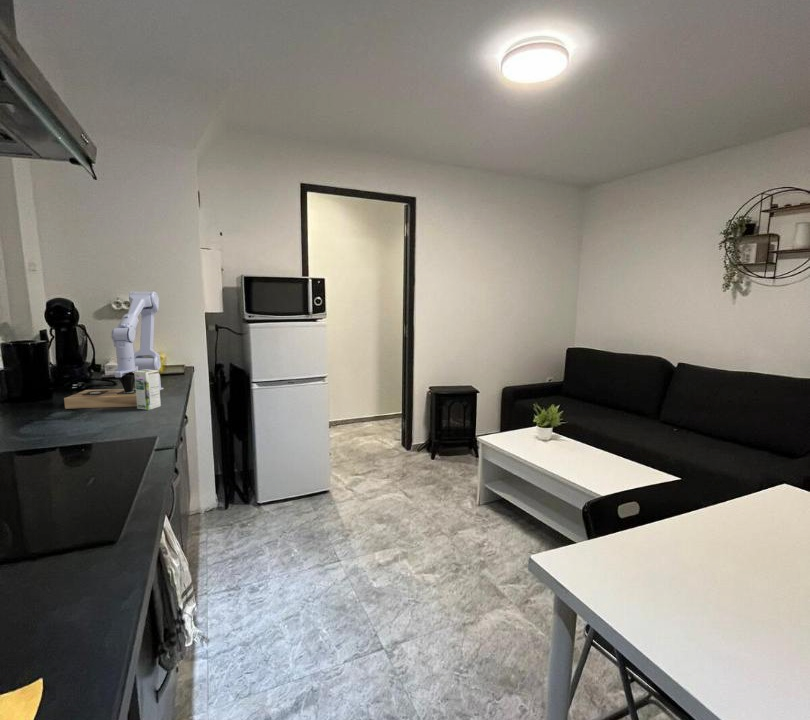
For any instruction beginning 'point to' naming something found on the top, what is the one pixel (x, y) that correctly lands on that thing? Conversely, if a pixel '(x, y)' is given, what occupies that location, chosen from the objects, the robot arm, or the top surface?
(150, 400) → the syrup box
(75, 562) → the top surface
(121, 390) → the oak board
